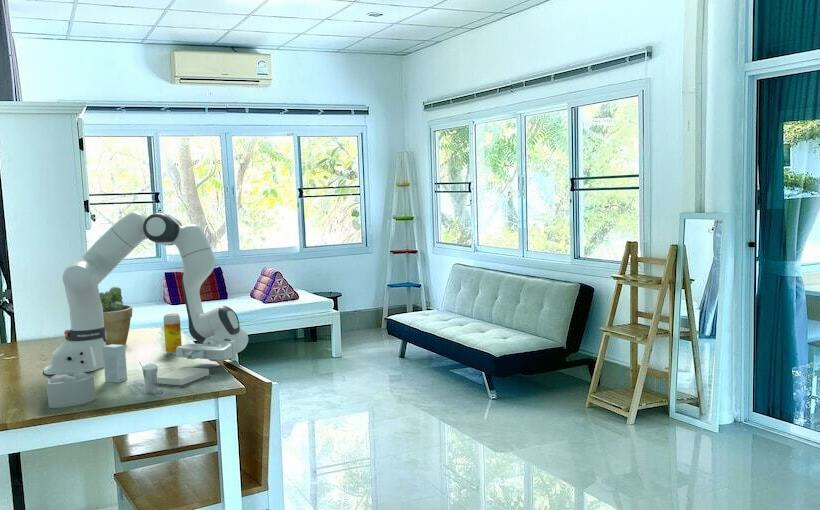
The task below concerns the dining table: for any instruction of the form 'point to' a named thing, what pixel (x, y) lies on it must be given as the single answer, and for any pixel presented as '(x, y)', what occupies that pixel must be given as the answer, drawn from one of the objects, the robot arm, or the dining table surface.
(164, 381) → the tile
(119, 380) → the skincare box
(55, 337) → the dining table surface
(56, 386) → the lumpy-topped squat cylinder
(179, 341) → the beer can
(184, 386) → the mat
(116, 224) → the robot arm
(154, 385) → the milkshake
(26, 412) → the dining table surface
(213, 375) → the dining table surface
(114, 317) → the potted plant
